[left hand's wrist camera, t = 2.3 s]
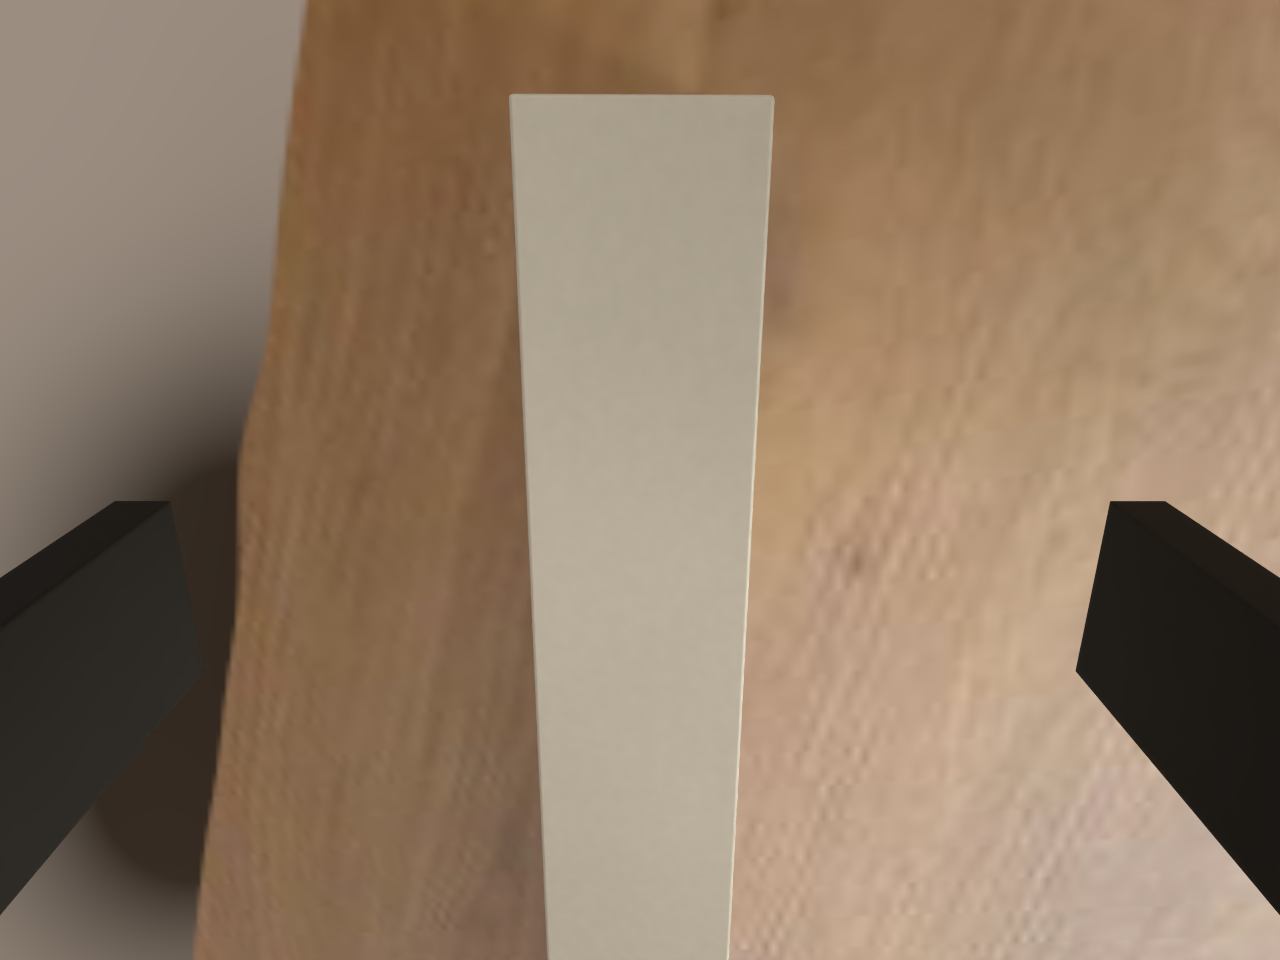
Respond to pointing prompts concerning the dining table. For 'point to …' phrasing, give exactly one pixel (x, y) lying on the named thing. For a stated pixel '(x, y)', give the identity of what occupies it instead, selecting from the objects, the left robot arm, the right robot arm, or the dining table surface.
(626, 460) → the beam
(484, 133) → the dining table surface
